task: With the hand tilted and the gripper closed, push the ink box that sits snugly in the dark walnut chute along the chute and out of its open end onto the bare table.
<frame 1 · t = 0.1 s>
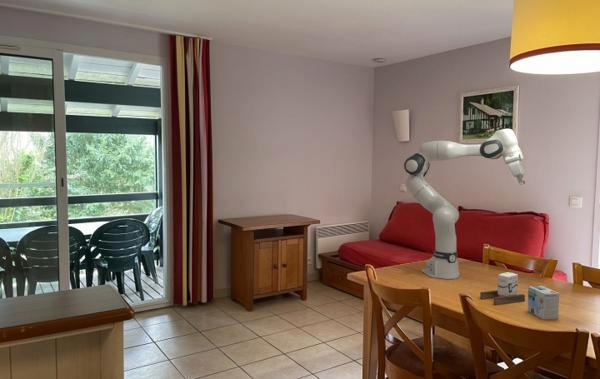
hand: (522, 184, 215), 52 cm above the table, tool tilted 20°, fingers open, 8 cm apart
light bulb box: (542, 315, 176), on the table
ink box: (507, 299, 196), on the table
walnut chute: (502, 299, 195), on the table
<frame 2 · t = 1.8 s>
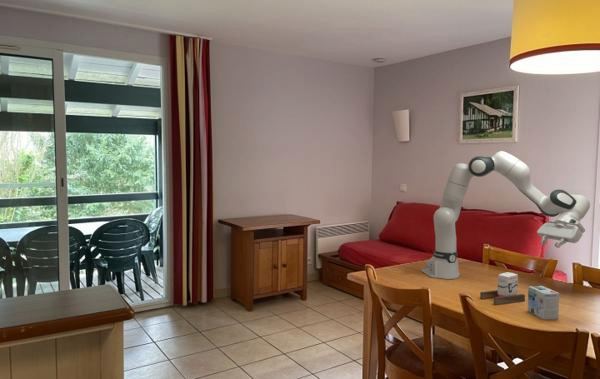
hand: (549, 245, 202), 24 cm above the table, tool tilted 45°, fingers open, 6 cm apart
nothing on the table moved.
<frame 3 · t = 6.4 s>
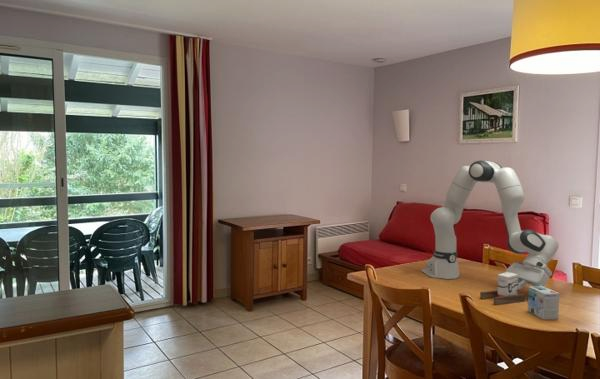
hand: (516, 287, 198), 5 cm above the table, tool tilted 45°, fingers closed
ink box: (507, 299, 196), on the table, touching gripper
everything else where it was.
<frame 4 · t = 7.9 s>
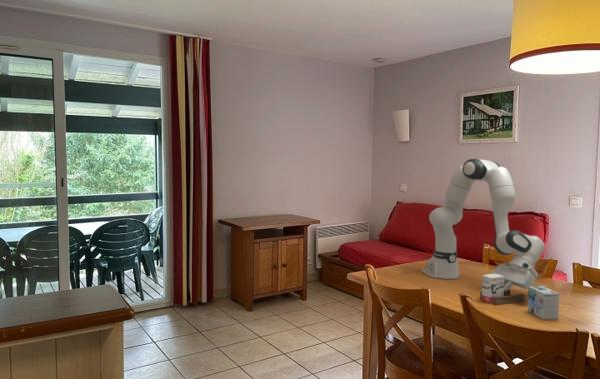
hand: (502, 289, 195), 5 cm above the table, tool tilted 45°, fingers closed, pressing on ink box
ink box: (492, 301, 194), on the table, touching gripper
everything else where it was.
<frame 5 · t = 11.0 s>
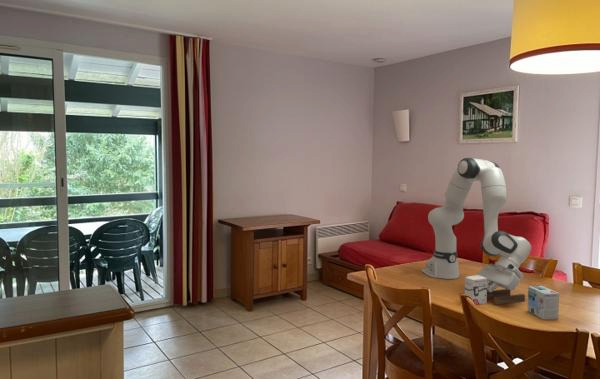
hand: (487, 290, 193), 5 cm above the table, tool tilted 45°, fingers closed
ink box: (475, 303, 192), on the table
everything else where it was.
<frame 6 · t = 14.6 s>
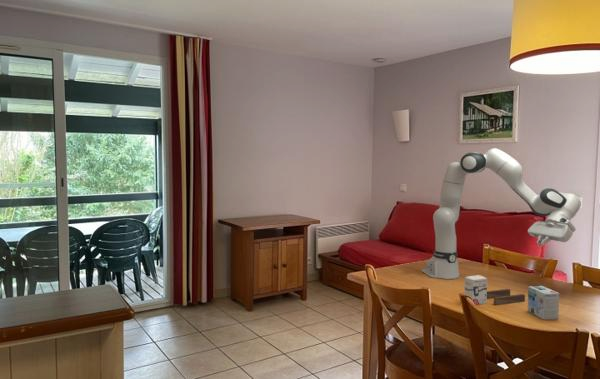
hand: (539, 244, 201), 24 cm above the table, tool tilted 45°, fingers closed
nothing on the table moved.
at the end: ink box inside the target area (3.2 cm from its centre), on the table; ink box tilted 0° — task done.
